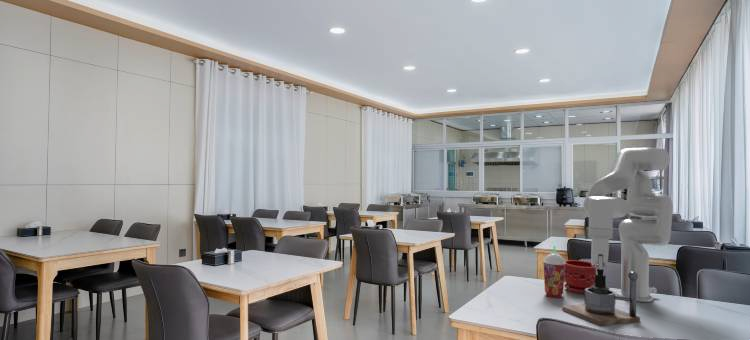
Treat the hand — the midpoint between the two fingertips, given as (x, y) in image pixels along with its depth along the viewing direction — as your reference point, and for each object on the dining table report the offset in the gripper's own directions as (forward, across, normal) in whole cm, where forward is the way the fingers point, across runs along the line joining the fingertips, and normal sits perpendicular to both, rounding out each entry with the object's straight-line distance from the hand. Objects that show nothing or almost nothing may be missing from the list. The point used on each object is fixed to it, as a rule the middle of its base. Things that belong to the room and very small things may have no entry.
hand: (600, 285), depth 151 cm
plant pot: (+11, -32, -7) cm, 35 cm away
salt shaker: (+5, 0, 0) cm, 5 cm away
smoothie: (+11, -19, -16) cm, 27 cm away
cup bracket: (+11, 0, 0) cm, 11 cm away
